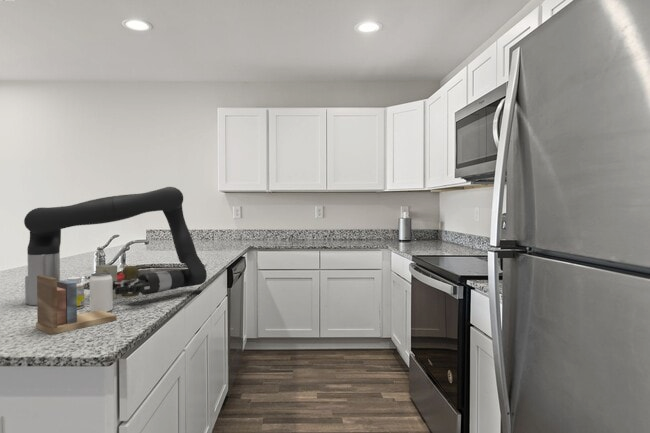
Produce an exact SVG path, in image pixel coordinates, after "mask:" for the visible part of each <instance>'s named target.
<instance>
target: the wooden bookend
mask: <svg viewBox="0 0 650 433" xmlns="http://www.w3.org/2000/svg"><path fill="white" fill-rule="evenodd" d="M36 307H37V308H36V310H37V322H35V329H37V330H39V331H41V332H44V333H46V334H47V335H50V336H53V335H56V334H60V333H65V332H69V331H73V330H78V329H82V328H87V327H92V326H98V325H100V324H101V325H102V324H105V323H110V322H114V321H117V314H114V313H111V312H105V311H102V310H98V311H93V312H90V311H89V312H88V311H87V312H83V313H78V312H77V311H78V309H77V283H75V282H72V281H68V280H67V279H64V280H60V281H57V279H55V278H51V277H48V276H44V275H38V276H37V305H36Z"/></svg>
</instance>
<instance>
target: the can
mask: <svg viewBox="0 0 650 433" xmlns="http://www.w3.org/2000/svg"><path fill="white" fill-rule="evenodd" d="M113 306H114V303H113V284H112V276H111V273H96V272H95V273H91V274H90V278H89V312H93V311H98V310H102V311H105V312H108V313H110V312H111V311H112V310H113Z"/></svg>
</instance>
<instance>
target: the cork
mask: <svg viewBox="0 0 650 433" xmlns="http://www.w3.org/2000/svg"><path fill="white" fill-rule="evenodd" d="M122 272H123V273H122V274H124V280H128V279H130V280H131V279H136V280H138V276H137V274H138V272H139V269H138V267H137V266H136V265H126V266H124V267H123V269H122ZM138 295H140V293H136V294H133V293H130V294H129V293H128V292H127V293H124V294H121V296H122V297H134V296H138Z"/></svg>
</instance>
